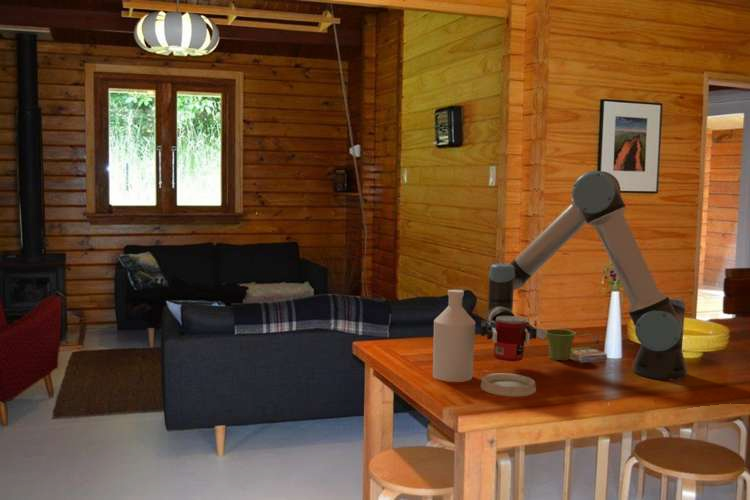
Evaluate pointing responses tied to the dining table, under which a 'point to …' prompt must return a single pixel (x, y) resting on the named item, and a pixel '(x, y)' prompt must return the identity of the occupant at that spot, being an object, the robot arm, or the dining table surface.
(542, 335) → the eyeglasses
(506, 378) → the dish
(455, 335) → the bottle
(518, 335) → the canned food
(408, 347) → the dining table surface
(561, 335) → the plant pot
